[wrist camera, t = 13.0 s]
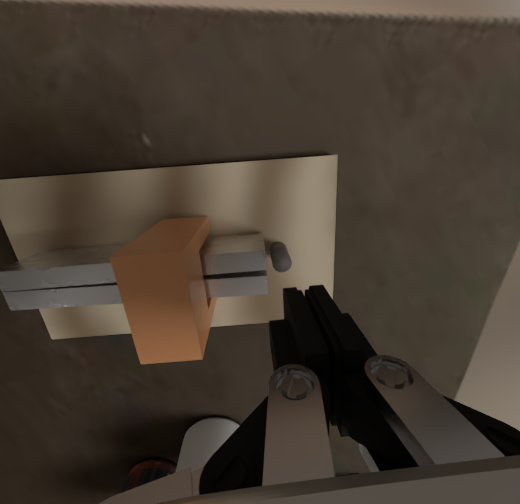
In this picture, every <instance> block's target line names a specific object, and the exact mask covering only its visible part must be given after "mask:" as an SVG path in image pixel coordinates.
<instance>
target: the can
mask: <svg viewBox="0 0 520 504" xmlns="http://www.w3.org/2000/svg"><path fill="white" fill-rule="evenodd" d="M239 426H240V425H239V424H238V423H237V422H235V421H233V420H231V419H229V418H224V417H209V418H205V419H202V420H200V421H198V422H196V423H195V424H194V425H192V426H191V427H190V428H189V429H188V430H187V432H186V433H185V436H184V439H183V443H182V447H181V451H180V455H179V459H178V463H177V468H176V472H179V471H181V470H184V469H187V468H189V467H190V468H191V472H192V471H194V470H197V469H200V468H202V467H204V466H205V464H206V463H207V461H208V460H209V459H210V457H211V456H212V455H213V454H214V453H215V452H216V451H217V450H218V449H219V448H220V446H221V445H222V444H223V443H224V442H225V441H226V440H227V439H228V438H229V437H230V436H231V435H232V434H233V433H234V431H235V430H236V429H237V428H238V427H239ZM176 472H175V473H176Z"/></svg>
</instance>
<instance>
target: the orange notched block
mask: <svg viewBox="0 0 520 504" xmlns="http://www.w3.org/2000/svg"><path fill="white" fill-rule="evenodd" d="M209 232H210V225H209V218H208V216H204V217H190V218H177V219H164V220H161V221H160V222H159V223H157V224H156V225H154V226H153V227H151V228H150V229H149V230H147V231H146V232H144V233H143V234H142V235H140V236H139V237H137V238H136V239H134V240H133V241H132V242H130V243H129V244H127V245H126V246H125V247H123V248H122V249H120V250H119V251H117V252H116V253H115V254H113V255H112V256H110V257H109V258H110V262H111V265H112V268H113V272H114V275H115V279H116V282H117V285H118V289H119V292H120V296H121V299H122V302H123V306H124V309H125V313H126V316H127V319H128V323H129V326H130V330H131V333H132V336H133V340H134V343H135V347H136V350H137V353H138V357H139V360H140V364H151V363H164V362H176V361H189V360H202V359H203V355H204V351H205V346H206V342H207V338H208V334H209V330H210V326H211V321H212V317H213V313H214V309H215V305H216V301H217V298H206V292H205V285H204V279H203V273H202V267H201V261H200V255H199V250H200V248H201V247H202V245H203V243H204V241H205V239H206V238H207V236H208V234H209Z"/></svg>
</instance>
